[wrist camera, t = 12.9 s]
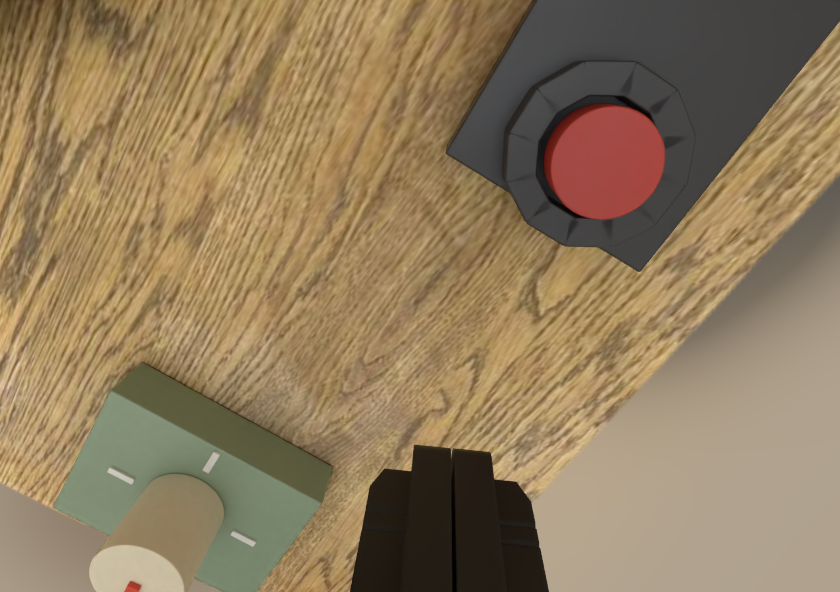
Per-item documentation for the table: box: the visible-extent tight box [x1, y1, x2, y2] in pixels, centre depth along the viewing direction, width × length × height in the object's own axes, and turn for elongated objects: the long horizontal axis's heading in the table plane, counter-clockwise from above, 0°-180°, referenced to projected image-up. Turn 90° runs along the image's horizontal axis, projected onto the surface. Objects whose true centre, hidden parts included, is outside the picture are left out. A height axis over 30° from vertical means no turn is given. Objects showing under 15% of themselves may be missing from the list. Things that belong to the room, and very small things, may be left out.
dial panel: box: [54, 363, 333, 592], centre depth 31 cm, size 12×9×3 cm
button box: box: [446, 0, 840, 272], centre depth 22 cm, size 15×10×4 cm, turn 150°
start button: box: [544, 103, 665, 220], centre depth 21 cm, size 4×4×2 cm
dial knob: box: [89, 474, 224, 592], centre depth 28 cm, size 4×4×5 cm
